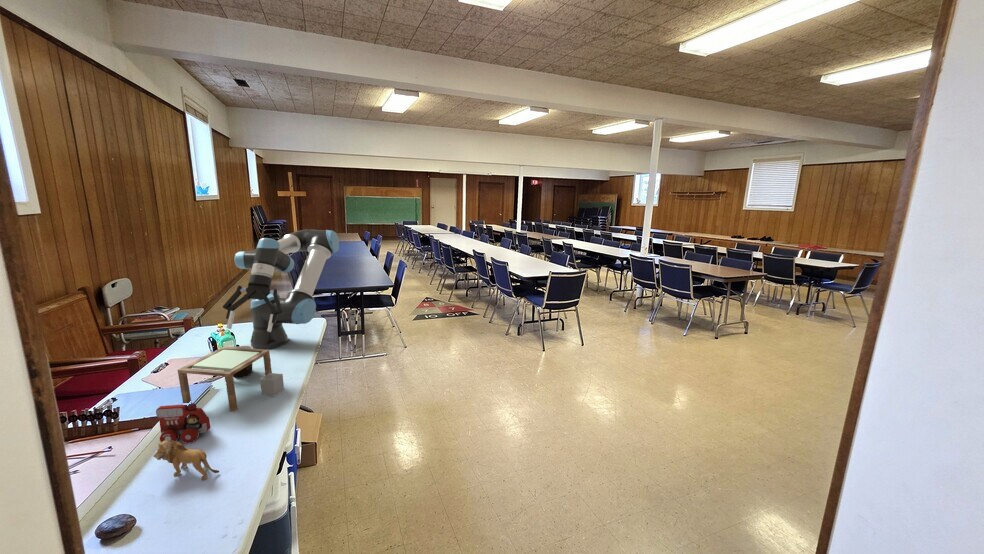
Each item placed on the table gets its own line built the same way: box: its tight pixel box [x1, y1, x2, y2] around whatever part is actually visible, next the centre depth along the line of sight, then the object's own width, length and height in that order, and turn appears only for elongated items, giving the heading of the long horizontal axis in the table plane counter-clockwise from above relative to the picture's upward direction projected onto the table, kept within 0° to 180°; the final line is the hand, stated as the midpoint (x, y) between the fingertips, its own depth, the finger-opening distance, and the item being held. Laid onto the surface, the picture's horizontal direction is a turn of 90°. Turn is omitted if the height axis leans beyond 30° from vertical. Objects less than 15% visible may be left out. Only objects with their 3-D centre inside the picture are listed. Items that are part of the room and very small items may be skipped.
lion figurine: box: [152, 440, 220, 481], centre depth 96 cm, size 15×5×9 cm, turn 90°
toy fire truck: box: [155, 402, 211, 444], centre depth 110 cm, size 7×12×10 cm, turn 102°
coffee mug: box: [233, 345, 254, 379], centre depth 149 cm, size 12×9×10 cm
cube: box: [259, 372, 285, 397], centre depth 135 cm, size 5×5×6 cm
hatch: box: [192, 350, 260, 371], centre depth 131 cm, size 13×14×1 cm
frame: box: [177, 346, 273, 413], centre depth 132 cm, size 19×18×14 cm
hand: (249, 330), depth 143 cm, fingers open, 13 cm apart
